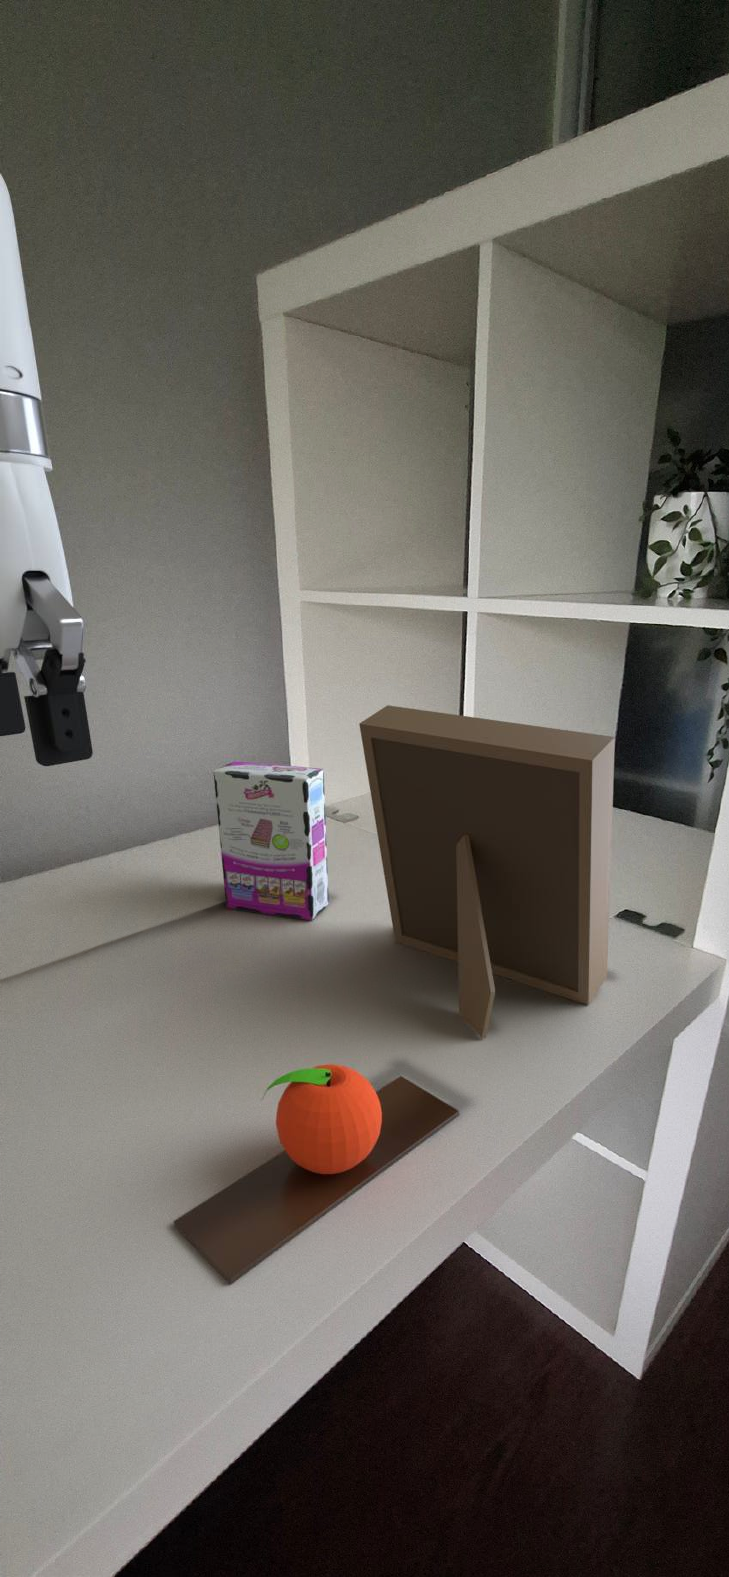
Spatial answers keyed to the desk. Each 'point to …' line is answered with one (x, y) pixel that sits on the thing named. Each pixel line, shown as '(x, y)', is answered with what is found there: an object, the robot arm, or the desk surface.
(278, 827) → the candy bar box
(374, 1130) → the clementine
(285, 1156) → the edge strip
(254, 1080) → the desk surface
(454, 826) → the photo frame
